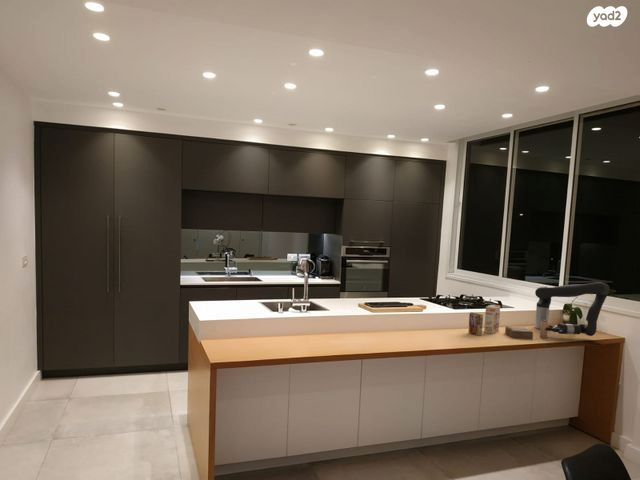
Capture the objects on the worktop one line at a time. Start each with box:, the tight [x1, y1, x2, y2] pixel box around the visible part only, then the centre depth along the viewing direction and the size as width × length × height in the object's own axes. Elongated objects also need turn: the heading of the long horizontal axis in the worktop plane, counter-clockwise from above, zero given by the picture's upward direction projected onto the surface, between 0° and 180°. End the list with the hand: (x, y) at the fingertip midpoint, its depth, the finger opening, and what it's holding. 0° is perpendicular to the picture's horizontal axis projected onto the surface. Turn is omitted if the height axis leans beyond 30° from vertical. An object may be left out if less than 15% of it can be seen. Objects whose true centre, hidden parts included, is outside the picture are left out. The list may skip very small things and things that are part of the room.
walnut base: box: [504, 326, 534, 340], centre depth 326 cm, size 14×14×5 cm
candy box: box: [467, 312, 484, 337], centre depth 325 cm, size 9×4×15 cm, turn 39°
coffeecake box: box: [483, 304, 501, 335], centre depth 336 cm, size 15×7×20 cm, turn 143°
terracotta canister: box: [539, 320, 549, 339], centre depth 326 cm, size 5×5×13 cm
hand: (543, 327), depth 326 cm, fingers open, 8 cm apart
